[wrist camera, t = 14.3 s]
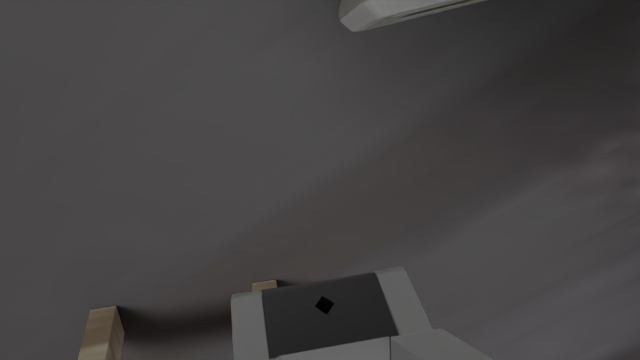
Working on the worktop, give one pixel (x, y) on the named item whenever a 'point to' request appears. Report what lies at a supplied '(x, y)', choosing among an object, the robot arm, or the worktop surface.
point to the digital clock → (391, 11)
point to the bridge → (118, 331)
